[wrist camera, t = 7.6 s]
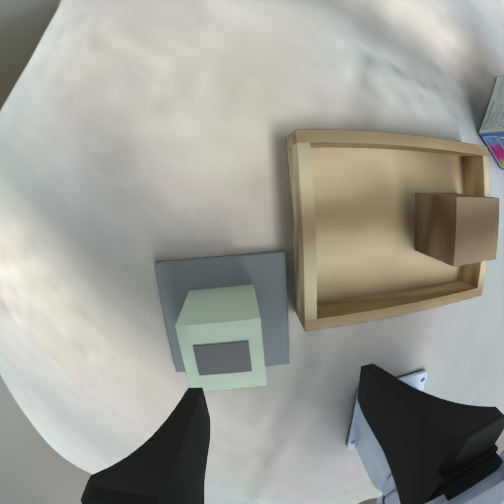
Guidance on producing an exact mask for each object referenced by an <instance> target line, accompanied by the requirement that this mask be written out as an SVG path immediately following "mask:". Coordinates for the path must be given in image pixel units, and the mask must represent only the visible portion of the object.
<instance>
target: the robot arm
mask: <svg viewBox="0 0 504 504" xmlns="http://www.w3.org/2000/svg"><path fill="white" fill-rule="evenodd" d="M426 377H427V372H426V371H425V370H423V371H420V372H416V373H413V374H410V375H407V376H403V377H400V378H396V377H394V376H393V375H391V374H390V373H388V372H386V371H385V370H383V369H381V368H380V367H378V366H376V365H375V364H369V365H365V366H361V373H360V381H359V388H358V392H357V397H356V403H355V408H354V414H353V419H352V424H351V429H350V434H349V438H348V443H347V448H348V449H355V448H356V449H357V451H358V453H359V456H360V458H361V460H362V462H363V465H364V467H365V469H366V471H367V474H368V476H369V478H370V480H371V482H372V484H373V485H374V486H375V487H376V488H377V489H378V490H380V491H382V492H383V495H382V496H380V497H379V498H378V500H377V504H504V451H503V452H502V453H501V454H500V455H498V454H497V453H496V451H497V449H498V447H497V446H496V445H495V442H496V441H497V439H498V437H499V436H500V434H501V432H502V431H503V429H504V415H503V414H502V413H501V412H500V411H499V410H498V409H497V408H496V407H482V406H471V405H464V404H459V403H455V402H451V401H447V400H444V399H440V398H438V397H435V396H432V395H429V394H427V393H425V392H422V391H423V388H424V384H425V381H426ZM209 441H210V416H209V412H208V408H207V404H206V400H205V396H204V392H203V388H202V387H201V388H188V390H187V391H186V392H185V394H184V396H183V397H182V399H181V400H180V402H179V403H178V405H177V406H176V408H175V409H174V410H173V412H172V413H171V414H170V416H169V417H168V418H167V420H166V421H165V422H164V423H163V424H162V426H161V427H160V428H159V429H158V430H157V431H156V432H155V433H154V434H153V436H152V437H151V438H149V439H148V440H147V441H146V442H145V443H144V444H143V445H142V446H141V447H139V448H138V449H137V450H136V451H134V452H133V453H132V454H130V455H129V456H127V457H126V458H124V459H123V460H121V461H120V462H118V463H116V464H114V465H113V466H111V467H109V468H107V469H104V470H102V471H100V472H98V473H96V474H93V475H91V476H90V478H89V480H88V482H87V485H86V488H85V490H84V492H83V495H82V498H81V502H82V504H204V479H205V470H206V463H207V456H208V449H209Z"/></svg>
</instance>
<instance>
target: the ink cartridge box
mask: <svg viewBox="0 0 504 504" xmlns="http://www.w3.org/2000/svg"><path fill="white" fill-rule="evenodd" d="M479 135H480V136H481V137H482V139H483V140H484V142H485V144H486V145H487V147H488V148H489V150H490V151H491V153H492V155H493V156H494V158H495V160H496V161H497V163H498V165H499V167H500V168H501V169H502V170H504V75H503V76H499V77H497V79H496V82H495V86H494V89H493V93H492V96H491V99H490V102H489V105H488V108H487V111H486V114H485V117H484V120H483V123H482V125H481V128H480V130H479Z"/></svg>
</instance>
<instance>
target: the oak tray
mask: <svg viewBox="0 0 504 504" xmlns="http://www.w3.org/2000/svg"><path fill="white" fill-rule="evenodd" d="M286 139H287V151H288V164H289V177H290V192H291V208H292V226H293V246H294V270H295V301H296V314H297V316H298V318H299V320H300V322H301V324H302V326H303V328H304V330H305V331H311V330H319V329H325V328H332V327H339V326H345V325H351V324H357V323H362V322H368V321H373V320H379V319H384V318H389V317H394V316H399V315H404V314H408V313H413V312H417V311H422V310H426V309H431V308H435V307H439V306H443V305H447V304H451V303H455V302H459V301H462V300H466V299H470V298H473V297H477V296H480V295H482V290H483V283H484V276H485V269H486V261H483V262H477V263H472V264H466V265H460V266H455V267H453V266H451V265H448V264H446V263H444V262H441V261H439V260H437V259H434V258H432V257H429V256H427V255H425V254H422V253H420V252H417V251H415V250H414V247H415V193H459V194H468V195H477V196H486V197H490V177H489V159H488V148H487V147H485V146H480V145H475V144H470V143H464V142H459V141H453V140H446V139H440V138H433V137H425V136H417V135H408V134H398V133H387V132H373V131H355V130H319V129H303V130H295V131H294V132H292V133H291V134H290V135H289V136H288V137H287V138H286Z"/></svg>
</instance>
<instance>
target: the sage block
mask: <svg viewBox="0 0 504 504" xmlns="http://www.w3.org/2000/svg"><path fill="white" fill-rule="evenodd" d="M175 328H176V332H177V337H178V341H179V345H180V350H181V354H182V358H183V362H184V366H185V370H186V374H187V378H188V381H189V385H190V388H201V387H202V388H203V391H205V390H221V389H234V388H245V387H255V386H263V385H267V383H266V372H265V361H264V350H263V340H262V329H261V318H260V313H259V309H258V304H257V299H256V294H255V289H254V284H250V285H241V286H231V287H221V288H211V289H201V290H190V291H189V292H188V295H187V297H186V300H185V302H184V305H183V307H182V310H181V312H180V315H179V317H178V320H177V323H176V325H175Z"/></svg>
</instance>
